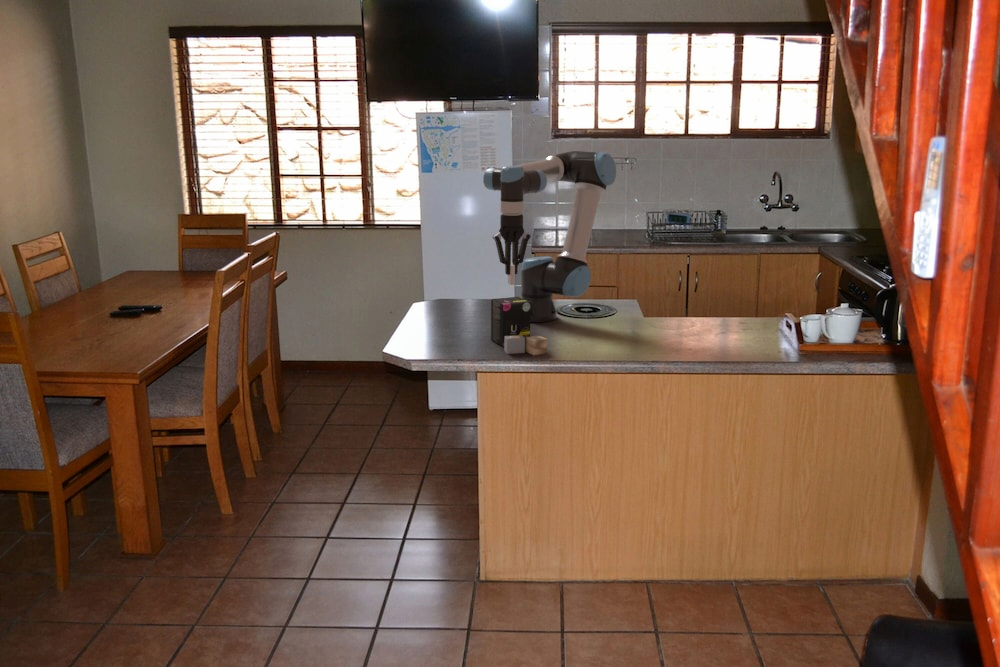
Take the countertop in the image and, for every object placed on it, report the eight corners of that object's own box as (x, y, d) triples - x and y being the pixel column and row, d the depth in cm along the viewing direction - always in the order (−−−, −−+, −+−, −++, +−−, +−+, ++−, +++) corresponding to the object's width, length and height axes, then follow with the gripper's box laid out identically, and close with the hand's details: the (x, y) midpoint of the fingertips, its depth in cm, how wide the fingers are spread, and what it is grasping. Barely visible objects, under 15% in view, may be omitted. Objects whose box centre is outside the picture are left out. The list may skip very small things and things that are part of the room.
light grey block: (522, 349, 296) (522, 334, 295) (524, 353, 292) (524, 337, 291) (504, 350, 295) (504, 335, 294) (506, 353, 291) (506, 338, 290)
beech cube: (538, 349, 296) (538, 334, 295) (546, 353, 292) (547, 338, 291) (525, 351, 294) (526, 336, 293) (533, 355, 290) (533, 340, 288)
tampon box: (502, 346, 299) (502, 304, 295) (490, 340, 307) (490, 298, 303) (531, 343, 304) (531, 301, 300) (518, 336, 312) (518, 295, 308)
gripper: (526, 211, 300) (525, 280, 306) (489, 213, 296) (489, 282, 302) (534, 214, 293) (533, 284, 299) (496, 216, 289) (496, 287, 295)
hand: (511, 283), depth 300 cm, fingers closed
